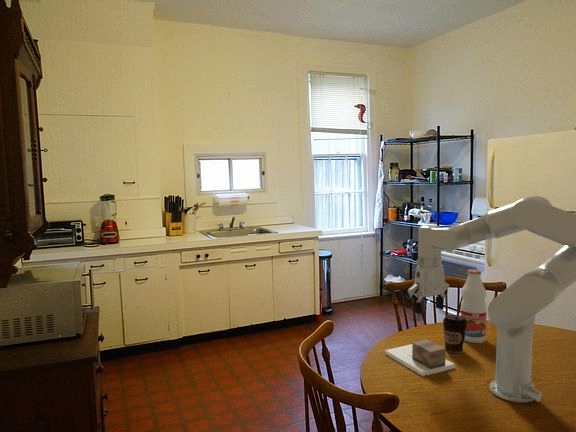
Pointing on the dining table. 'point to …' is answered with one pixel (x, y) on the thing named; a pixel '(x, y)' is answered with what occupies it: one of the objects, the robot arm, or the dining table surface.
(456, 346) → the coffee cup
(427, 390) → the dining table surface
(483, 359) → the dining table surface
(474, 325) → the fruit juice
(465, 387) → the dining table surface
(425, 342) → the block
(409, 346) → the board
